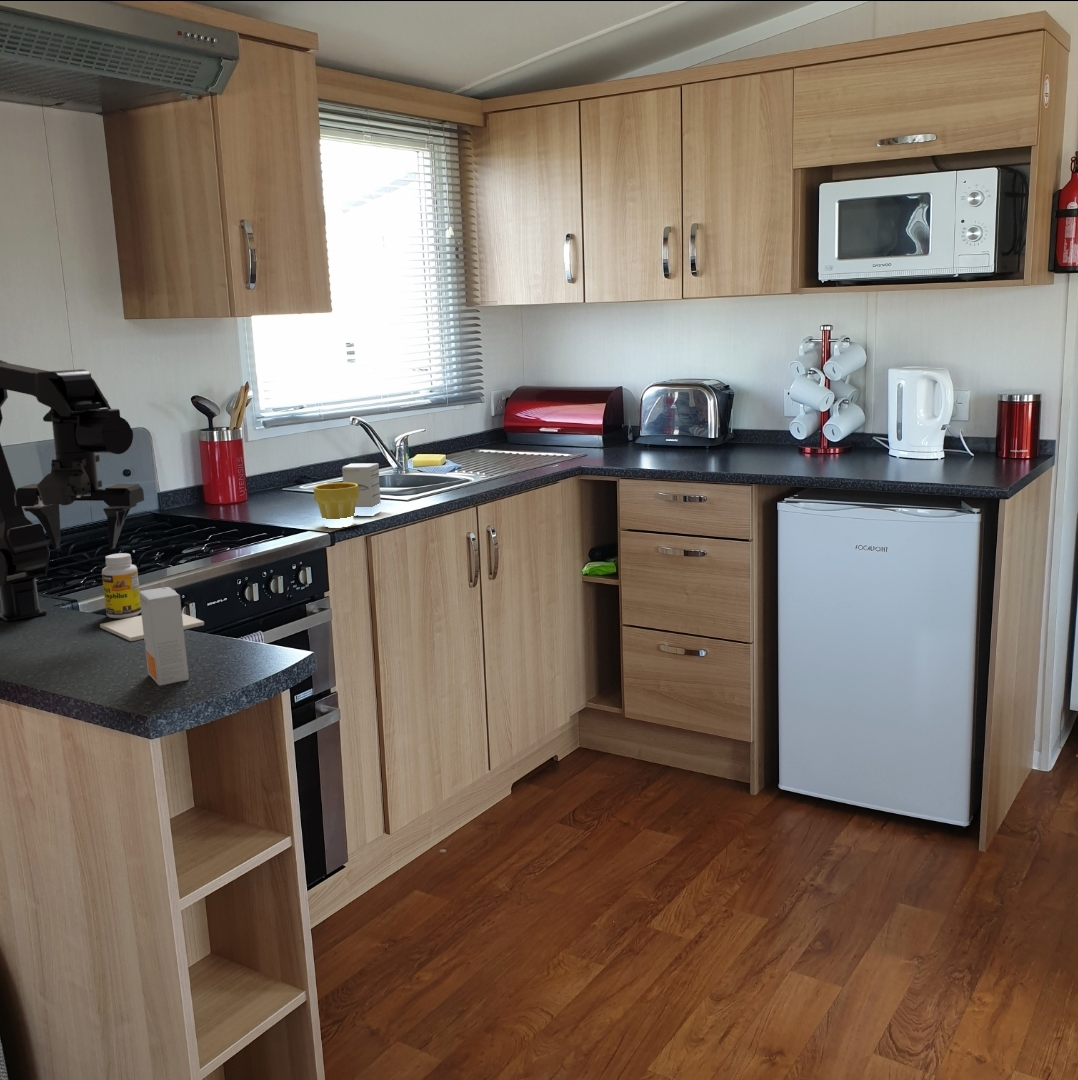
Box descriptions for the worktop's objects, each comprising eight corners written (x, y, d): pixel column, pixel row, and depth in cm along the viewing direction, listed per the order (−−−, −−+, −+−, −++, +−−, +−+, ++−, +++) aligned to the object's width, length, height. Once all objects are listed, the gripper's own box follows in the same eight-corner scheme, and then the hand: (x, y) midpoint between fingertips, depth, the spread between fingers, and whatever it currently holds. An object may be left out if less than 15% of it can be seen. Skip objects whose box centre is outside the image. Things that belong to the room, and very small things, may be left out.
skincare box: (147, 675, 152) (137, 590, 149) (178, 669, 154) (170, 585, 151) (157, 686, 146) (148, 599, 144) (190, 680, 149) (181, 594, 146)
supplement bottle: (100, 619, 183) (93, 559, 181) (117, 610, 188) (111, 552, 186) (131, 619, 182) (124, 558, 180) (148, 610, 187) (141, 551, 185)
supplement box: (344, 517, 273) (340, 466, 271) (354, 512, 280) (351, 462, 278) (372, 517, 272) (369, 466, 270) (382, 512, 279) (379, 462, 277)
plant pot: (347, 531, 255) (344, 489, 253) (308, 529, 258) (305, 488, 256) (368, 522, 264) (365, 482, 262) (330, 521, 268) (327, 481, 266)
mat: (100, 627, 177) (100, 624, 177) (171, 612, 185) (171, 609, 185) (131, 641, 169) (130, 637, 169) (204, 625, 177) (203, 621, 177)
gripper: (-12, 458, 166) (0, 559, 169) (108, 457, 164) (118, 560, 167) (28, 448, 176) (39, 544, 180) (141, 448, 175) (149, 544, 178)
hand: (84, 548), depth 176 cm, fingers open, 9 cm apart
